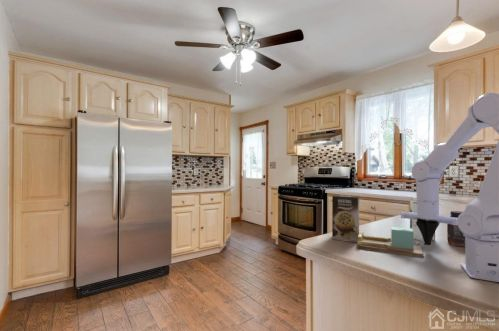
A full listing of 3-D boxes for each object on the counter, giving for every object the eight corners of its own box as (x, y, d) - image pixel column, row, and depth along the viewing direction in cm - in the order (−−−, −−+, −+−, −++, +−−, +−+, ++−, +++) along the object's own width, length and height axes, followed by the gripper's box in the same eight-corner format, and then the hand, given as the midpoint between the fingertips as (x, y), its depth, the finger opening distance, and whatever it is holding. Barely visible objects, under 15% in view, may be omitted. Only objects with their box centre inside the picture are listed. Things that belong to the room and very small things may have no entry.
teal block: (413, 249, 78) (413, 231, 78) (391, 246, 81) (391, 229, 81) (412, 245, 82) (412, 228, 82) (391, 242, 85) (391, 226, 85)
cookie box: (331, 239, 93) (331, 195, 93) (334, 235, 99) (334, 194, 99) (358, 242, 89) (358, 197, 89) (359, 238, 95) (359, 195, 95)
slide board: (423, 257, 74) (423, 245, 74) (357, 248, 83) (357, 237, 83) (419, 246, 85) (419, 236, 85) (360, 239, 93) (360, 229, 93)
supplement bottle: (474, 247, 83) (473, 213, 83) (453, 246, 84) (453, 212, 84) (462, 242, 89) (462, 210, 89) (443, 241, 90) (443, 209, 90)
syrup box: (420, 236, 97) (419, 198, 97) (436, 240, 91) (435, 200, 92) (409, 237, 95) (409, 199, 95) (425, 242, 89) (424, 201, 90)
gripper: (397, 199, 81) (397, 241, 81) (454, 204, 71) (454, 253, 70) (404, 198, 86) (405, 237, 86) (459, 202, 75) (459, 247, 75)
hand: (427, 244), depth 79 cm, fingers closed
